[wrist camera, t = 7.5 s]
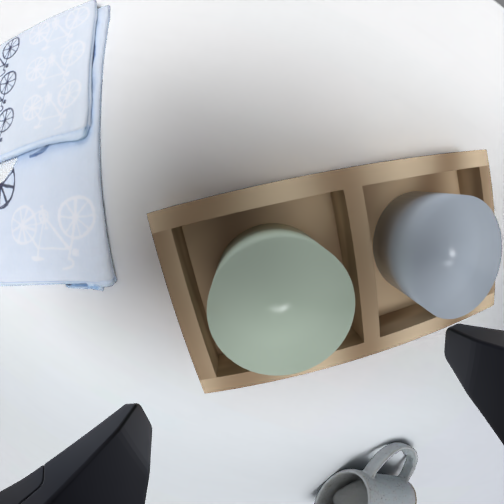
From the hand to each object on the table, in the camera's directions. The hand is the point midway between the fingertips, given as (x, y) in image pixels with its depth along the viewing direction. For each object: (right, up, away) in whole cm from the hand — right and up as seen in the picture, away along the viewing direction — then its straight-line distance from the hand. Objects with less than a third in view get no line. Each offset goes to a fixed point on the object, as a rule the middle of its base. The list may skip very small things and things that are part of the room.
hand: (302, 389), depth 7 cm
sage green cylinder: (0, +2, +10) cm, 10 cm away
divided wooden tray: (+4, +3, +11) cm, 12 cm away
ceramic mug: (+10, -18, +16) cm, 26 cm away
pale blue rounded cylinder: (+9, +4, +10) cm, 14 cm away
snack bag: (-20, +10, +9) cm, 24 cm away
